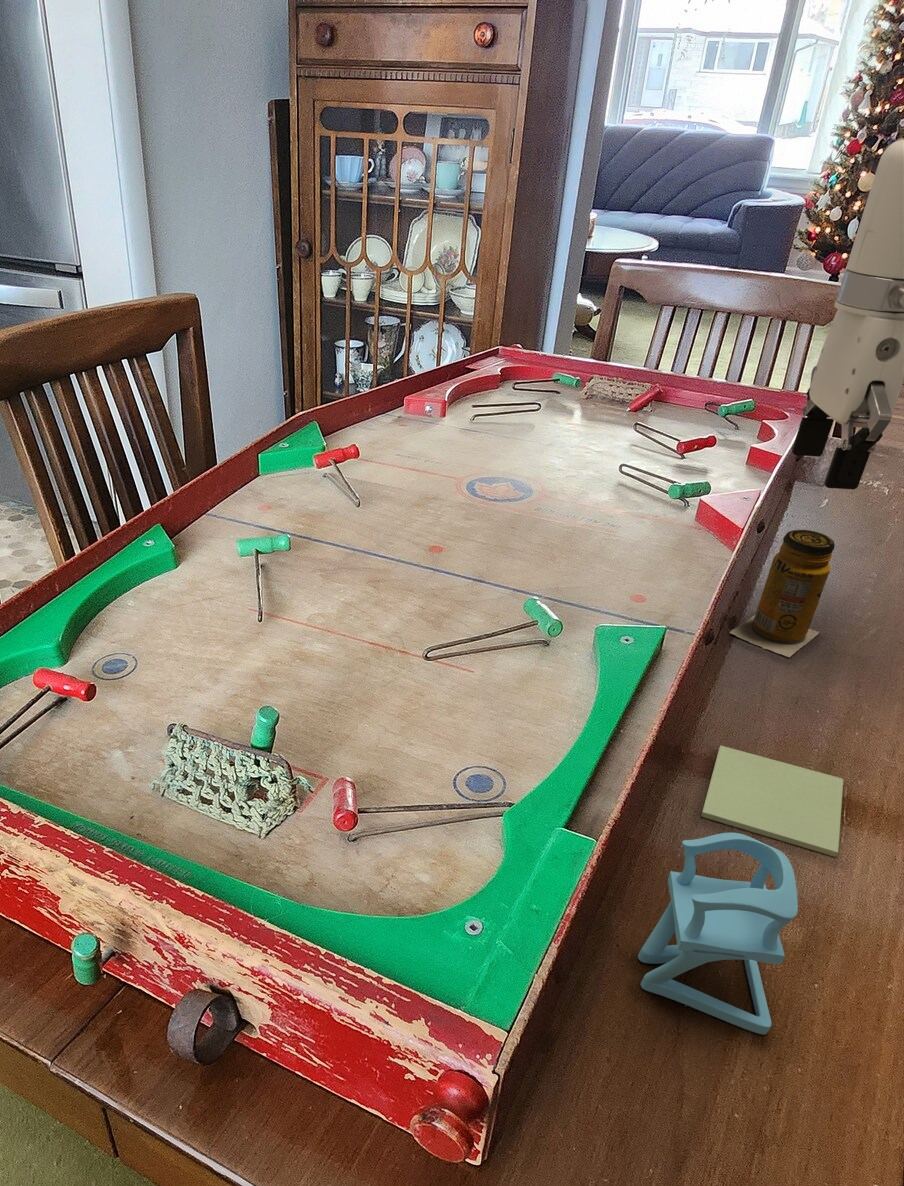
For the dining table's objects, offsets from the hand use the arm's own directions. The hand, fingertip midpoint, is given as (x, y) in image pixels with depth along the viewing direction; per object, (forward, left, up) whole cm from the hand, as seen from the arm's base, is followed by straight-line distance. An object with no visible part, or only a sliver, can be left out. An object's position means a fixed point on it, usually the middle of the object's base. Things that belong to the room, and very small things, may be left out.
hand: (822, 470), depth 96 cm
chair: (+21, +52, -20) cm, 60 cm away
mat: (+9, +31, -20) cm, 38 cm away
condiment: (-1, 0, -20) cm, 20 cm away
